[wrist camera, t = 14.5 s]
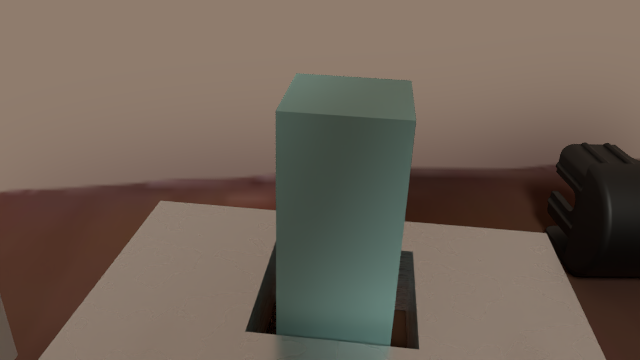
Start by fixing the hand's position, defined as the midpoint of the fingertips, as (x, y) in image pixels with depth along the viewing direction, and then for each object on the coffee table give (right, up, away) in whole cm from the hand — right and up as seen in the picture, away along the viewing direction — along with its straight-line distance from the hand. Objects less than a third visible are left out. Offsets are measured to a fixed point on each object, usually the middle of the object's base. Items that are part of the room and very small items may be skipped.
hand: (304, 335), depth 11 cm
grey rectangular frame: (+1, -5, +14) cm, 15 cm away
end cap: (+19, -2, +21) cm, 28 cm away
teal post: (+1, -5, +14) cm, 15 cm away
